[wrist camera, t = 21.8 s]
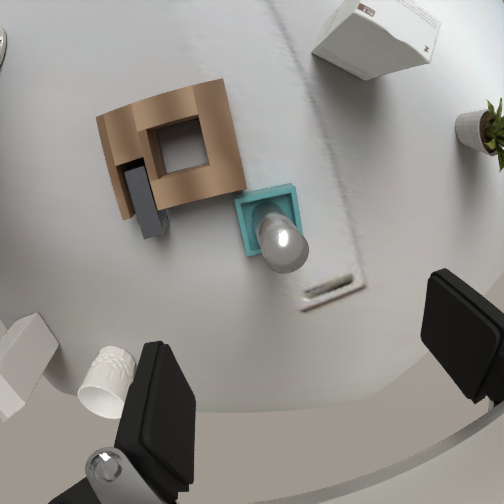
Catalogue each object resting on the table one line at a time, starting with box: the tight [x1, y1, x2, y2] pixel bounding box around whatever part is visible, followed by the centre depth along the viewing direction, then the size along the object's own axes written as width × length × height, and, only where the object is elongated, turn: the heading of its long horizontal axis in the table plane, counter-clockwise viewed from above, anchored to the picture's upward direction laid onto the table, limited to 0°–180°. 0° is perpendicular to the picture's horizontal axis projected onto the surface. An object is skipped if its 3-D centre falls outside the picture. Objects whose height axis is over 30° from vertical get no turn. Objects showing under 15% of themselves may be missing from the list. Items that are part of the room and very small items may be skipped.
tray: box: [233, 183, 303, 257], centre depth 36 cm, size 7×7×2 cm
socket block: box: [96, 79, 247, 220], centre depth 30 cm, size 14×12×5 cm
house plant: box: [455, 98, 504, 172], centre depth 27 cm, size 14×14×16 cm
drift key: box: [124, 165, 169, 239], centre depth 33 cm, size 2×8×4 cm, turn 11°
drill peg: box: [251, 201, 309, 273], centre depth 31 cm, size 4×4×12 cm
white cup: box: [78, 346, 135, 419], centre depth 39 cm, size 8×8×10 cm
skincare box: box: [311, 0, 441, 81], centre depth 23 cm, size 8×6×15 cm
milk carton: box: [0, 312, 59, 423], centre depth 32 cm, size 7×7×19 cm
